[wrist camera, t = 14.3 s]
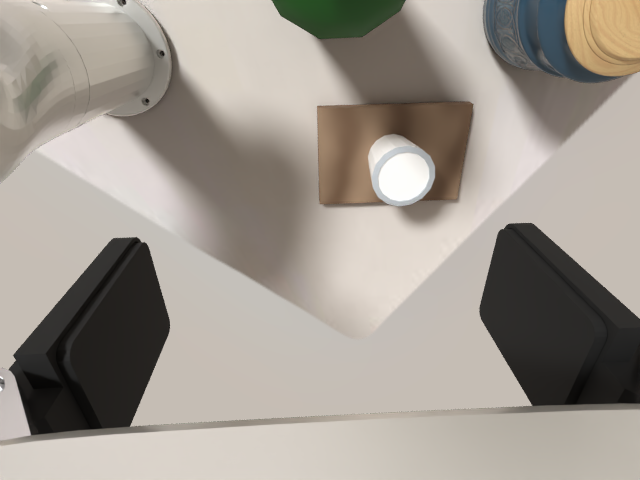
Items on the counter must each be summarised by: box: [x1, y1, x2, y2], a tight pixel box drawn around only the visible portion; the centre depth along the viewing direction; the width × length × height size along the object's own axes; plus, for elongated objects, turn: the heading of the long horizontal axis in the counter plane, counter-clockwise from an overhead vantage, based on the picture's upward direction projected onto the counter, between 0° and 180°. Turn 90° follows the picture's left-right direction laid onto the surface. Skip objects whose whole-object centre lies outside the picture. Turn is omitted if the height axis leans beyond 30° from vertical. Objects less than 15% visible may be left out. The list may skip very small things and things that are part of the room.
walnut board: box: [317, 102, 473, 204], centre depth 48 cm, size 18×12×2 cm, turn 91°
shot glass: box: [368, 134, 435, 206], centre depth 44 cm, size 7×7×7 cm
